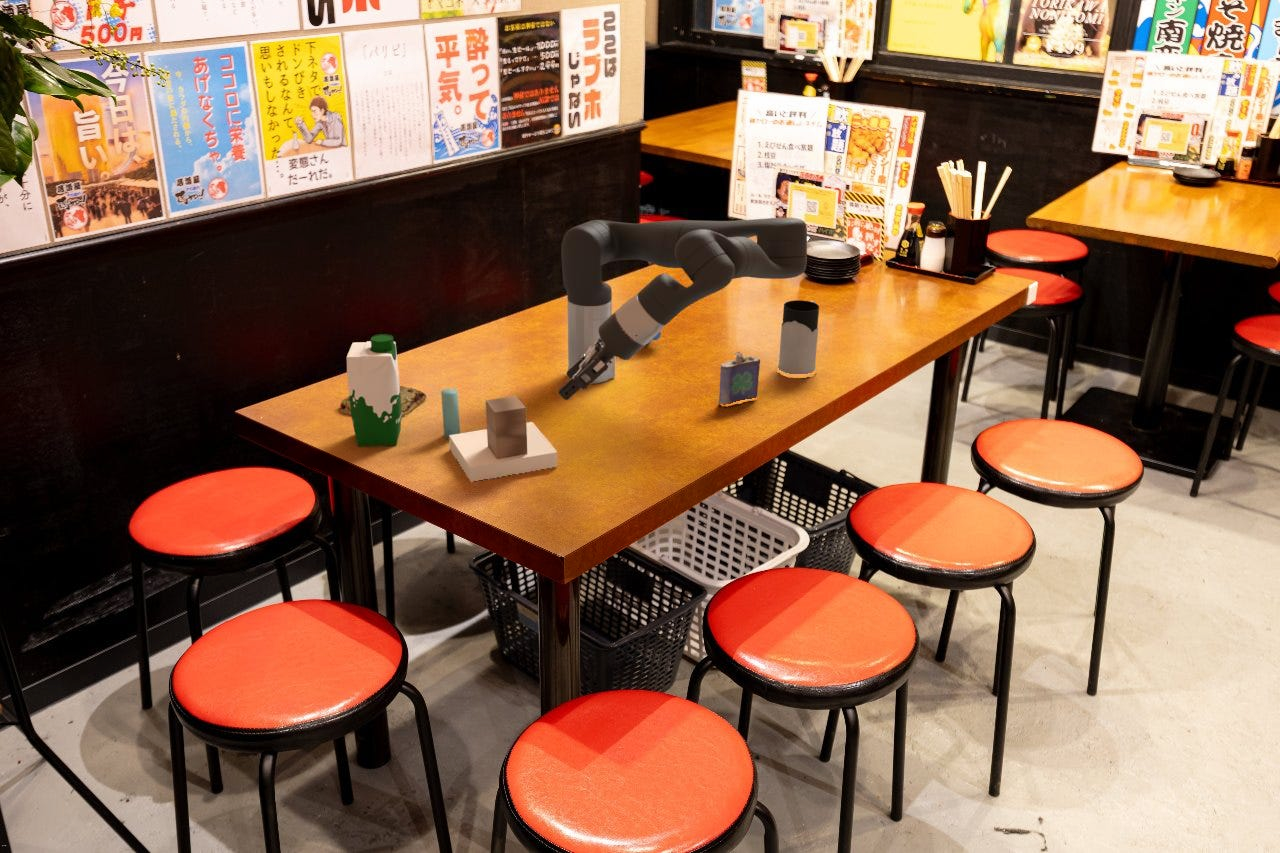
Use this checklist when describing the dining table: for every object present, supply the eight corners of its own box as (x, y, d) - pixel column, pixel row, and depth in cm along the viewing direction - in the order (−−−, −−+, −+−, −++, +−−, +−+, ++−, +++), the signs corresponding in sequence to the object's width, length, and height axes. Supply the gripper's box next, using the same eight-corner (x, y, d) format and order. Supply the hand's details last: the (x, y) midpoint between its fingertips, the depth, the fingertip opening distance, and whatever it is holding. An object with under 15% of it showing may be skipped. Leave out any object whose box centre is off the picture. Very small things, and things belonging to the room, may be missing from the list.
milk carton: (400, 447, 208) (392, 346, 199) (351, 448, 207) (340, 347, 198) (405, 427, 215) (397, 329, 207) (358, 428, 215) (348, 330, 206)
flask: (723, 409, 226) (725, 359, 221) (714, 404, 228) (717, 354, 224) (760, 400, 230) (763, 351, 226) (751, 395, 232) (754, 346, 228)
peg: (457, 431, 214) (455, 387, 211) (462, 437, 212) (459, 393, 208) (442, 433, 213) (439, 390, 210) (446, 439, 211) (443, 395, 207)
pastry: (333, 397, 229) (331, 384, 228) (417, 385, 236) (416, 372, 234) (347, 430, 215) (345, 416, 214) (436, 417, 221) (435, 403, 220)
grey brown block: (517, 441, 204) (516, 395, 200) (527, 454, 199) (525, 407, 195) (487, 446, 202) (485, 400, 198) (497, 459, 197) (494, 412, 193)
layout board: (532, 436, 213) (532, 421, 211) (557, 467, 201) (557, 452, 200) (450, 449, 207) (449, 435, 206) (470, 482, 195) (470, 467, 194)
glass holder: (770, 374, 243) (775, 308, 237) (791, 353, 255) (796, 290, 248) (809, 381, 240) (815, 314, 233) (829, 360, 251) (834, 295, 245)
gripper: (643, 357, 182) (574, 418, 188) (652, 327, 195) (587, 385, 201) (611, 325, 180) (542, 387, 186) (622, 297, 193) (557, 356, 199)
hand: (566, 386), depth 194 cm, fingers open, 8 cm apart
